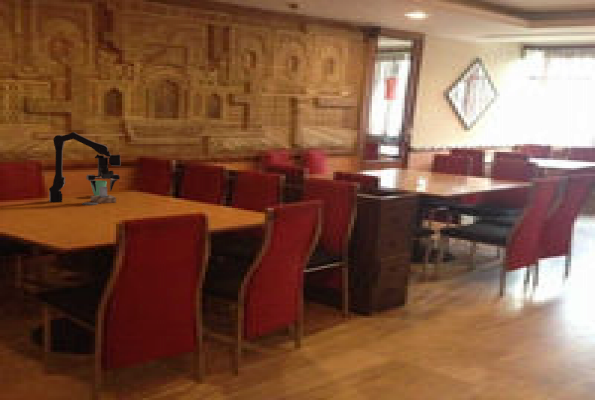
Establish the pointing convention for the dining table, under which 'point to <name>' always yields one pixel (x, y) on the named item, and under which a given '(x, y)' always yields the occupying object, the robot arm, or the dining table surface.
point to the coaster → (89, 203)
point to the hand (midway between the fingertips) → (103, 191)
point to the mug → (98, 187)
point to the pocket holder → (104, 199)
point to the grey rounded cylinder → (103, 192)
